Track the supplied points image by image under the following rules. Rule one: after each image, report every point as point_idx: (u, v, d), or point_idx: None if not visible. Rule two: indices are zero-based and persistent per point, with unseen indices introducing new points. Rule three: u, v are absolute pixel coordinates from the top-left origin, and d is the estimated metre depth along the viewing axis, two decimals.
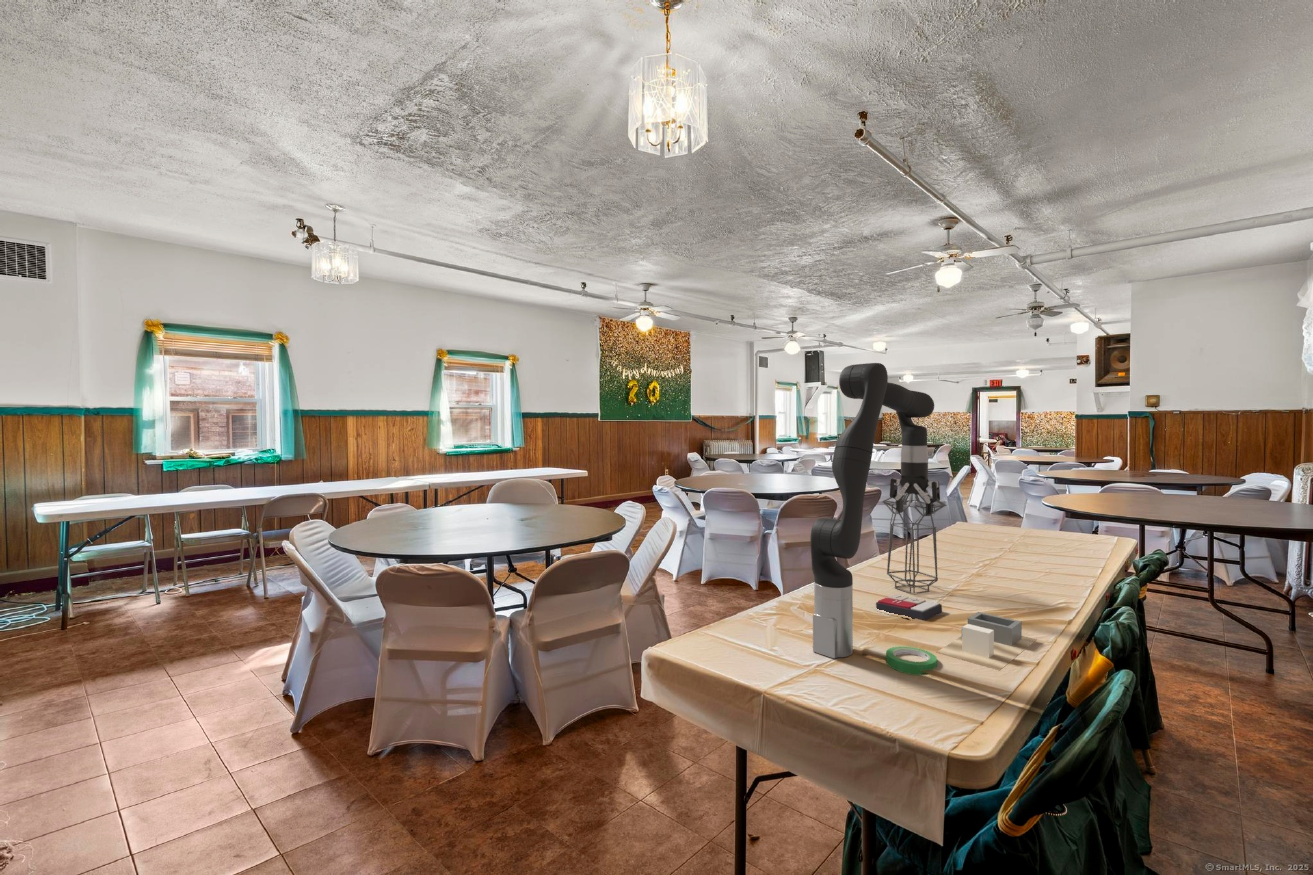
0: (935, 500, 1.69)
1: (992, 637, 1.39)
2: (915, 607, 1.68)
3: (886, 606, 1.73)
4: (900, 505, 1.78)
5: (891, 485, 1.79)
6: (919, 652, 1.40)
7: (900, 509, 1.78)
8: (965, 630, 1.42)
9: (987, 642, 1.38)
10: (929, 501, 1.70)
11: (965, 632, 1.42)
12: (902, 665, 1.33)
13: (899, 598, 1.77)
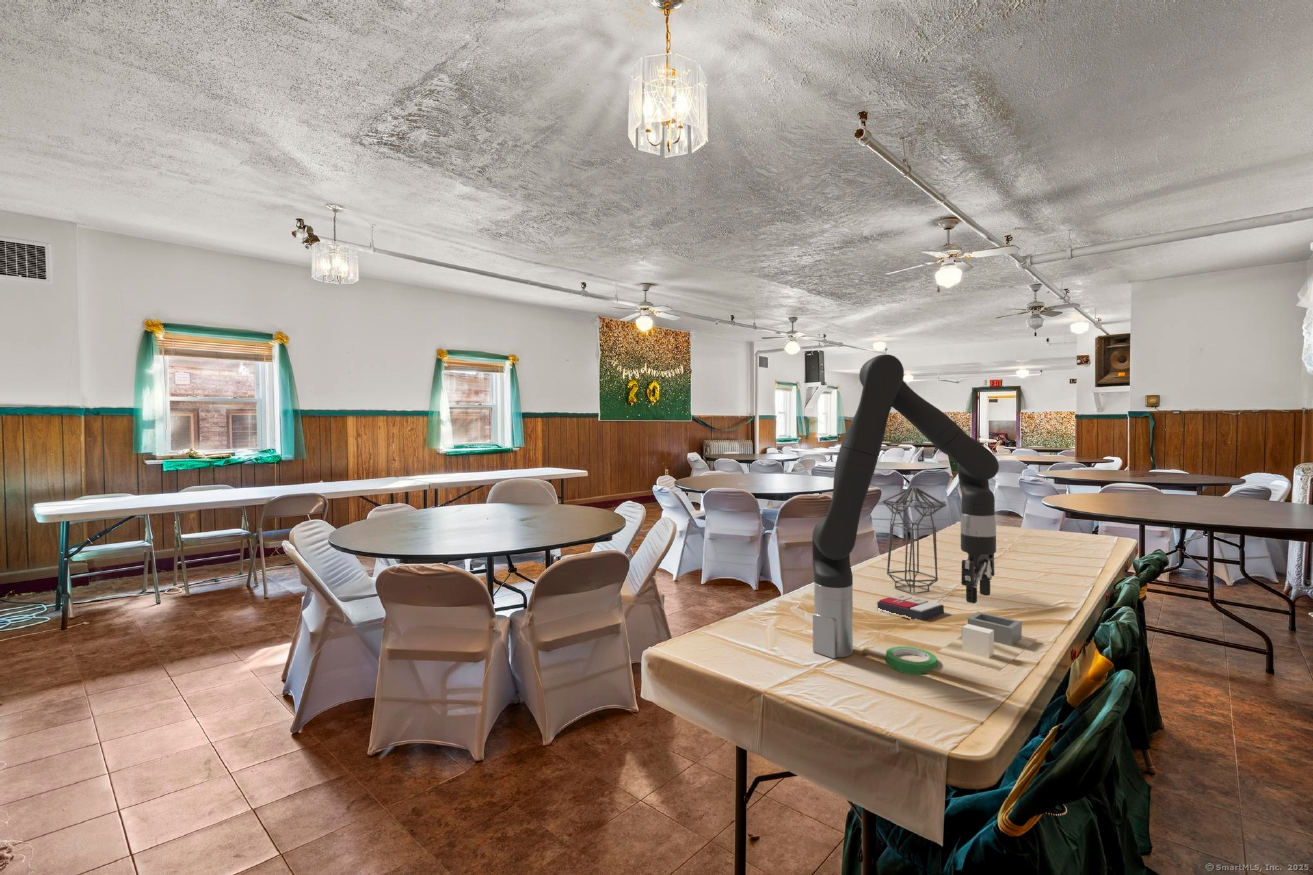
0: None
1: (992, 637, 1.39)
2: (915, 607, 1.68)
3: (887, 605, 1.73)
4: None
5: (973, 571, 1.35)
6: (919, 652, 1.40)
7: None
8: (965, 630, 1.42)
9: (987, 642, 1.38)
10: None
11: (965, 632, 1.42)
12: (902, 665, 1.33)
13: (901, 598, 1.77)
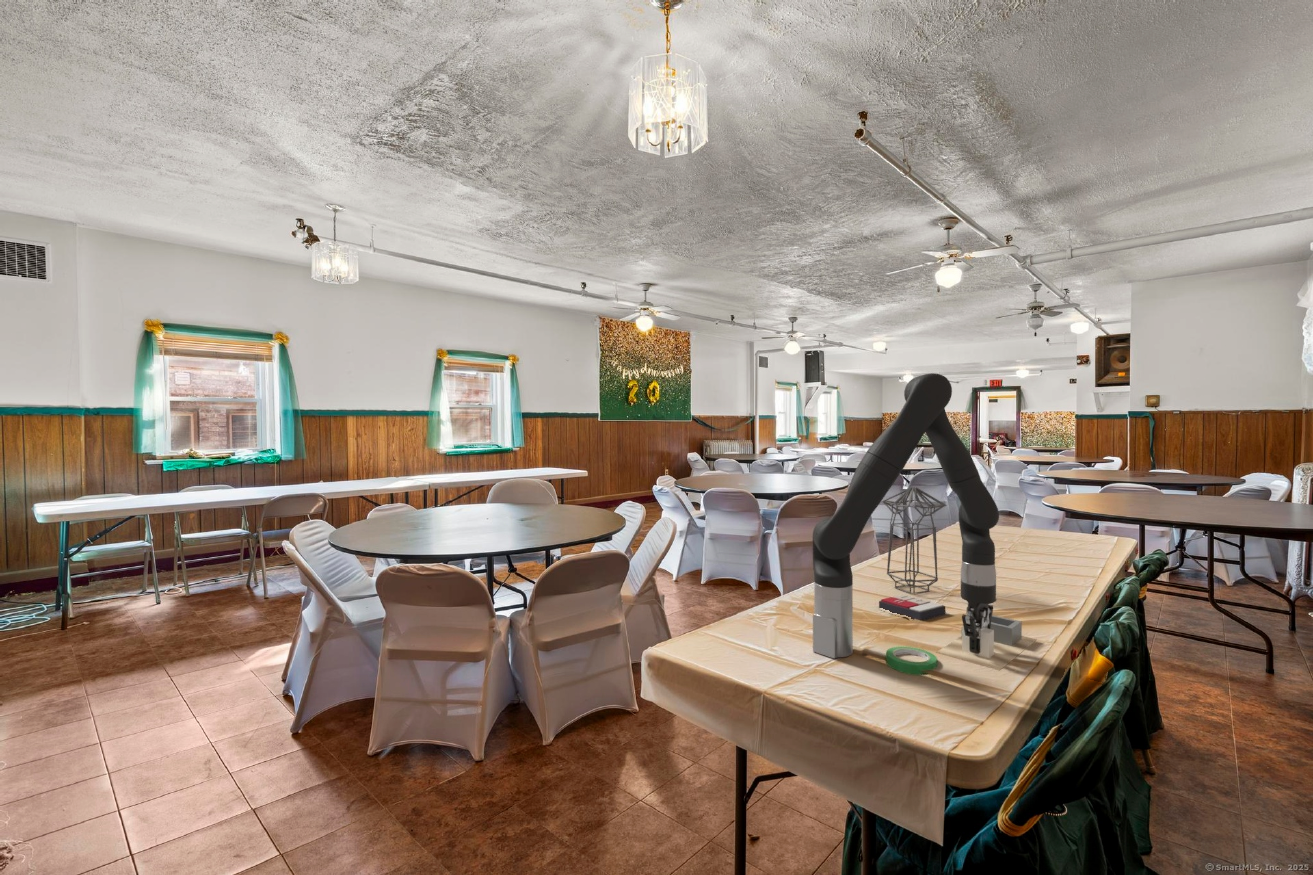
0: None
1: (992, 637, 1.39)
2: (915, 607, 1.68)
3: (887, 605, 1.74)
4: None
5: (974, 625, 1.36)
6: (919, 652, 1.40)
7: None
8: None
9: (986, 642, 1.38)
10: None
11: None
12: (902, 665, 1.33)
13: (904, 598, 1.77)
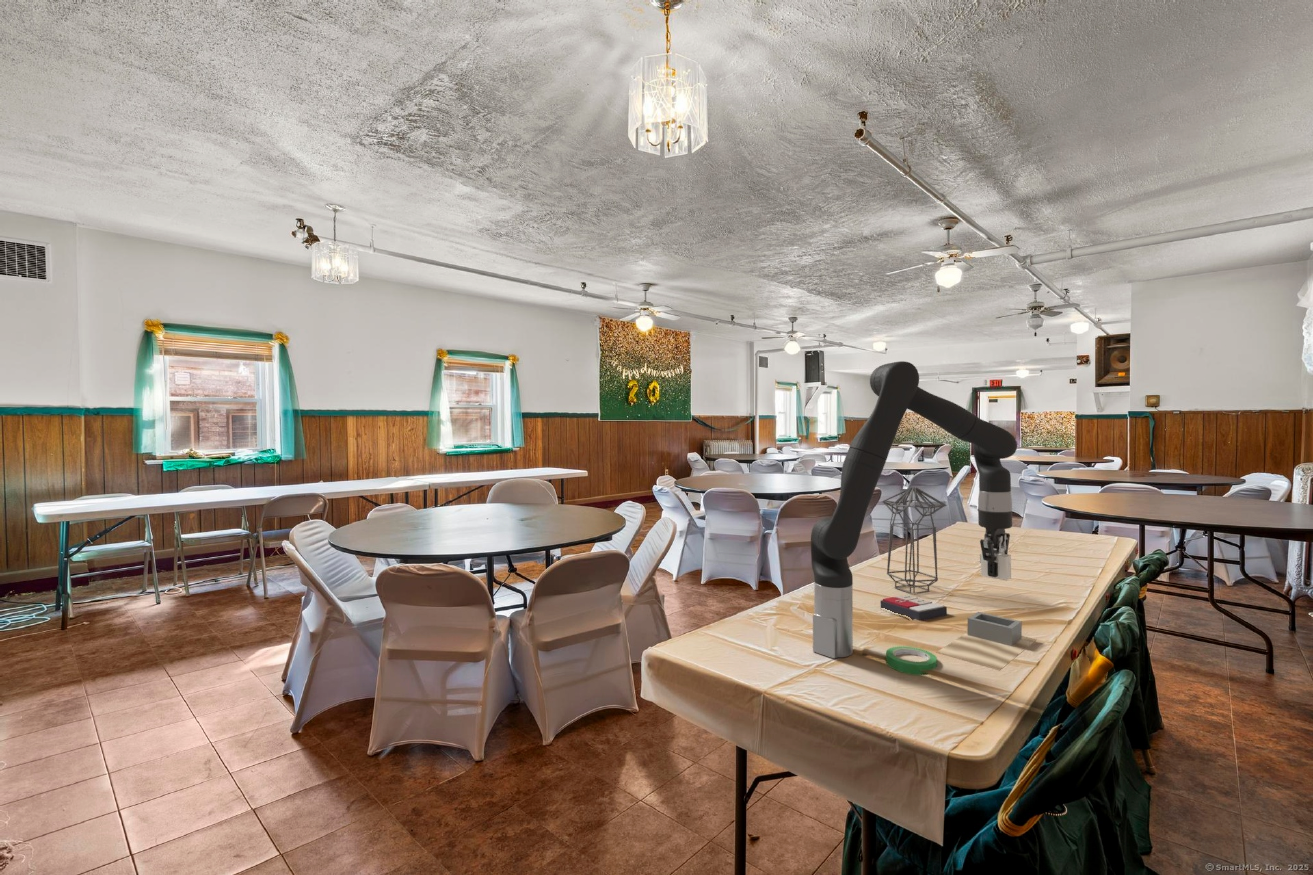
0: None
1: (1009, 561, 1.47)
2: (914, 607, 1.68)
3: (888, 604, 1.74)
4: None
5: (992, 549, 1.44)
6: (919, 652, 1.40)
7: None
8: None
9: (1004, 565, 1.46)
10: None
11: None
12: (902, 665, 1.33)
13: (906, 598, 1.77)
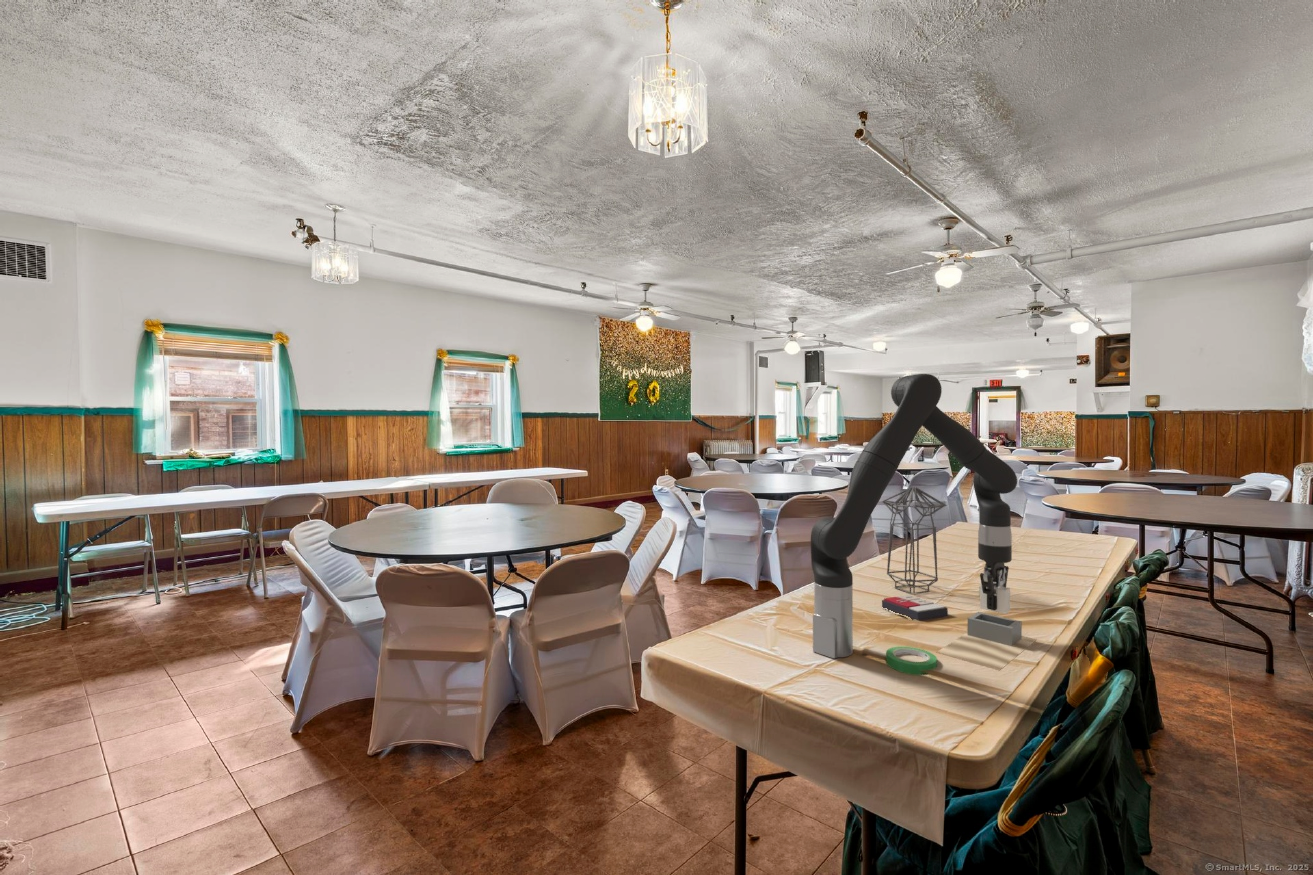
0: None
1: (1008, 594, 1.49)
2: (914, 607, 1.68)
3: (889, 604, 1.74)
4: None
5: (991, 583, 1.46)
6: (919, 652, 1.40)
7: None
8: None
9: (1003, 599, 1.48)
10: None
11: None
12: (902, 665, 1.33)
13: (908, 598, 1.77)
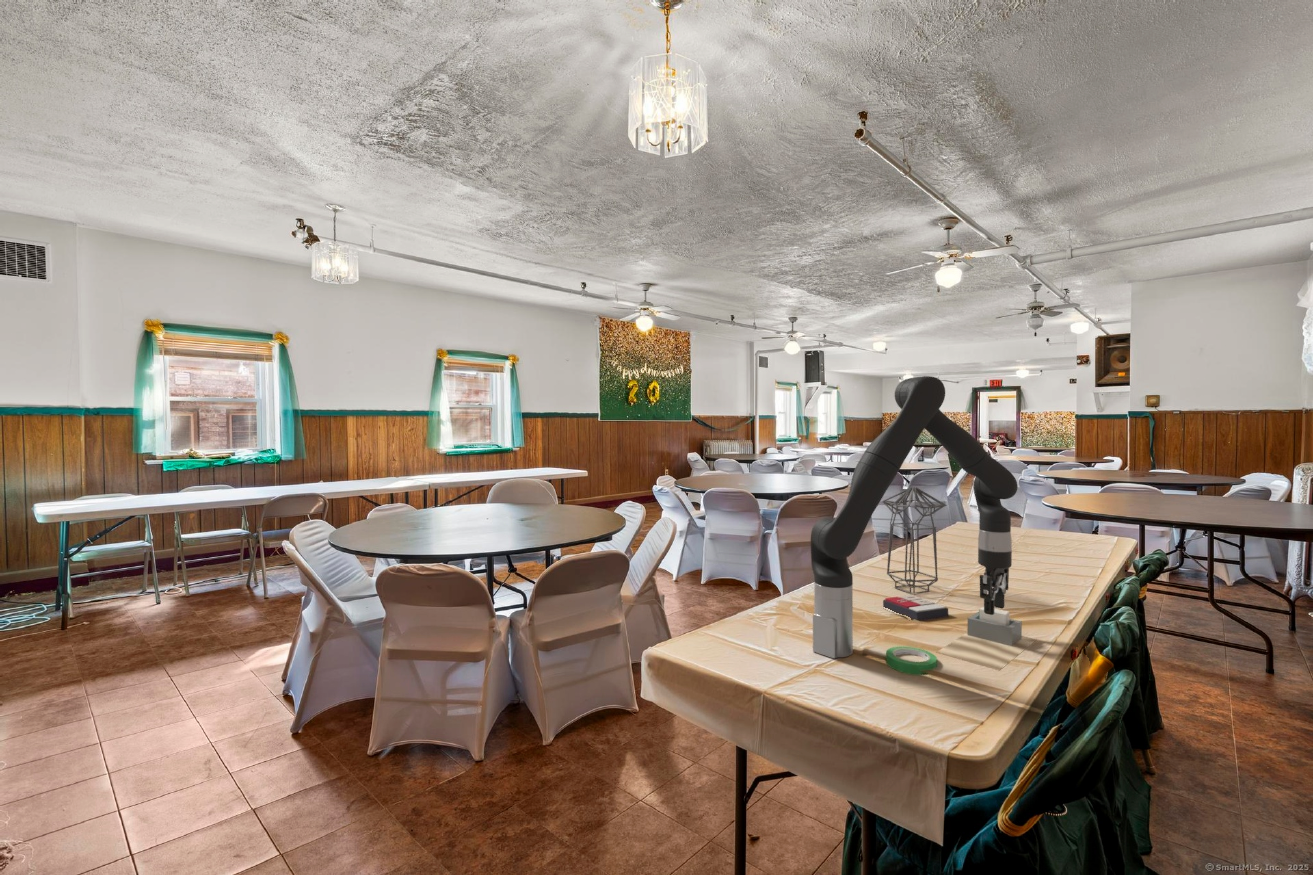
0: None
1: (1007, 618, 1.49)
2: (914, 607, 1.68)
3: (890, 604, 1.75)
4: None
5: (990, 585, 1.46)
6: (919, 652, 1.40)
7: None
8: (982, 612, 1.51)
9: (1003, 623, 1.48)
10: None
11: (982, 614, 1.51)
12: (902, 665, 1.33)
13: (909, 598, 1.76)
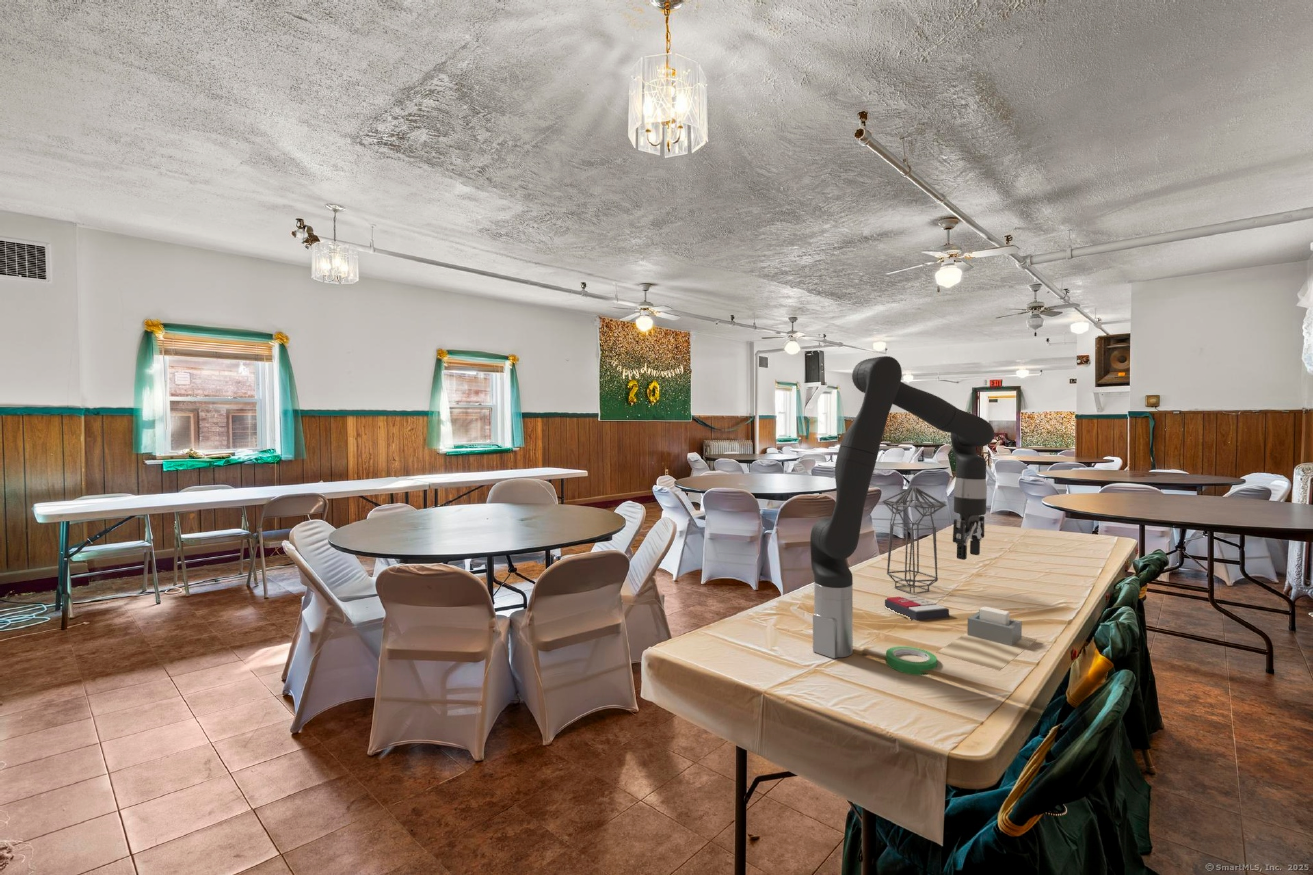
0: (983, 536, 1.56)
1: (1007, 618, 1.49)
2: (914, 607, 1.68)
3: (891, 603, 1.75)
4: None
5: (963, 529, 1.47)
6: (919, 652, 1.40)
7: None
8: (982, 612, 1.51)
9: (1003, 623, 1.48)
10: None
11: (982, 614, 1.51)
12: (902, 665, 1.33)
13: (911, 598, 1.76)
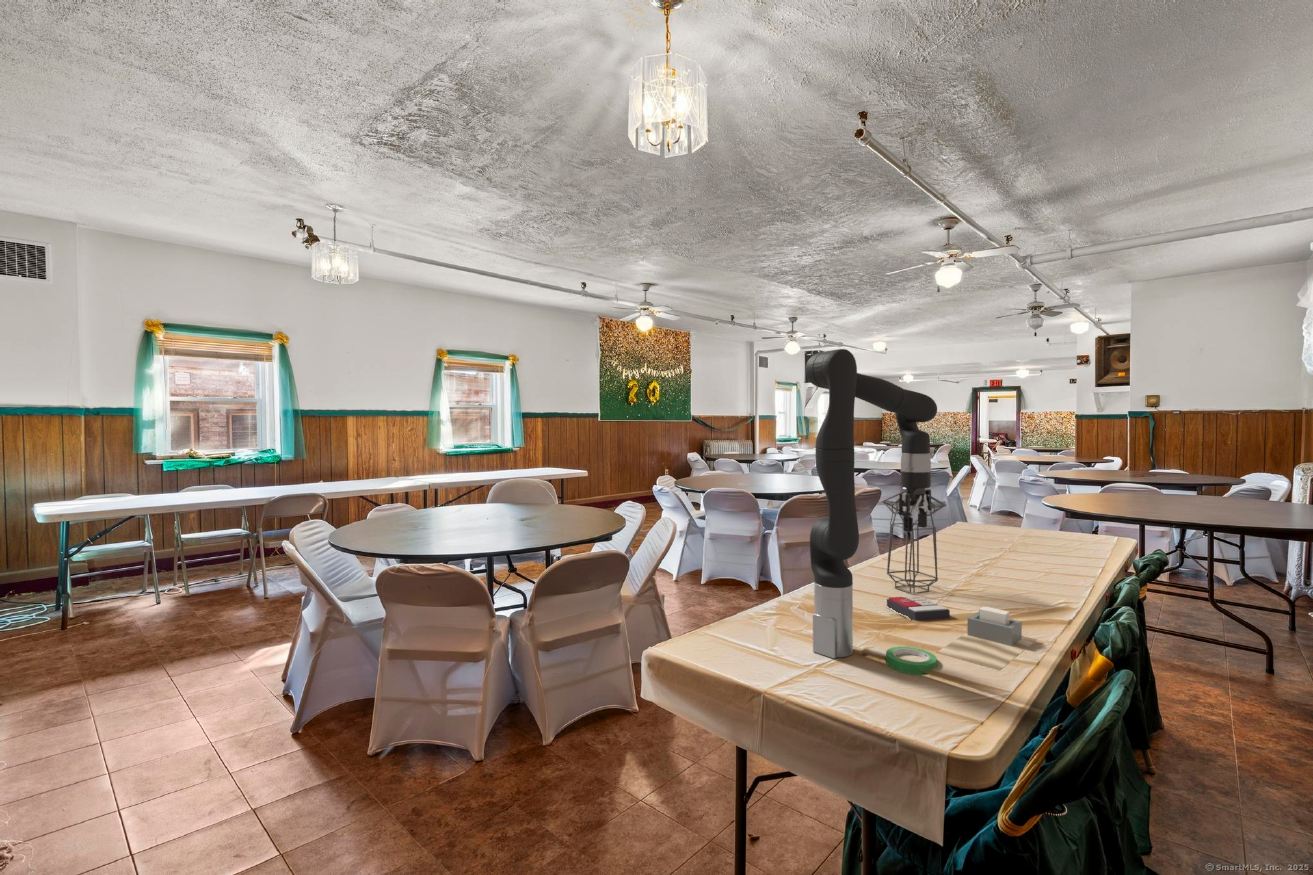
0: (930, 508, 1.61)
1: (1007, 618, 1.49)
2: (914, 607, 1.68)
3: (892, 603, 1.75)
4: None
5: (908, 502, 1.52)
6: (919, 652, 1.40)
7: None
8: (982, 612, 1.51)
9: (1003, 623, 1.48)
10: (928, 511, 1.60)
11: (982, 614, 1.51)
12: (902, 665, 1.33)
13: (914, 599, 1.76)
